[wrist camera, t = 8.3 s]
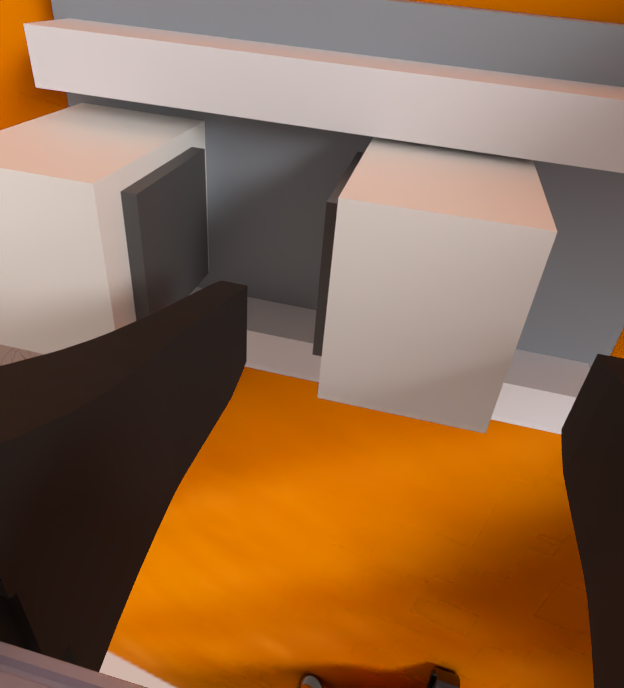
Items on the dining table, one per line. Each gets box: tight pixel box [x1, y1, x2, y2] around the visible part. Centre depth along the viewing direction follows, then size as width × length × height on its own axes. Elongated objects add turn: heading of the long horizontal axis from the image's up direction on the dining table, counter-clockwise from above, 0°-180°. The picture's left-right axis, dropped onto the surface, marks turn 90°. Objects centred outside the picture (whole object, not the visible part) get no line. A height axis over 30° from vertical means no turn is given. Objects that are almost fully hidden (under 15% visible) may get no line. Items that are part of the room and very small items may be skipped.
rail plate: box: [0, 0, 624, 434], centre depth 15 cm, size 18×12×7 cm, turn 86°
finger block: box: [312, 137, 557, 433], centre depth 14 cm, size 4×5×6 cm
